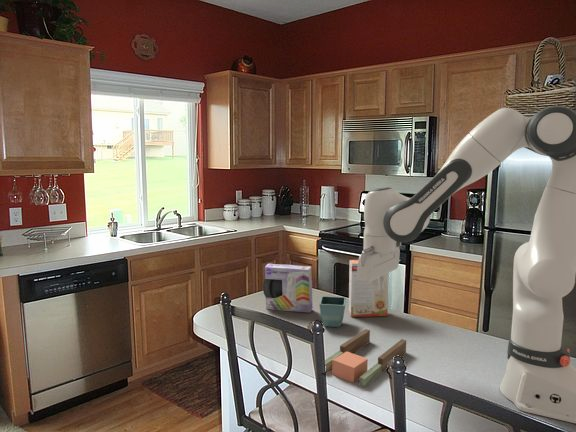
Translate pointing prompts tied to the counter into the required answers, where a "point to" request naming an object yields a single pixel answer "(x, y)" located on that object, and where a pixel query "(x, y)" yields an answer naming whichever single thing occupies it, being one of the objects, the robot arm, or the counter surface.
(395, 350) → the parallel rails
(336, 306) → the flower pot
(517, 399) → the robot arm
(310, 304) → the cake pan box
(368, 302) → the cracker box
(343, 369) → the orange block
